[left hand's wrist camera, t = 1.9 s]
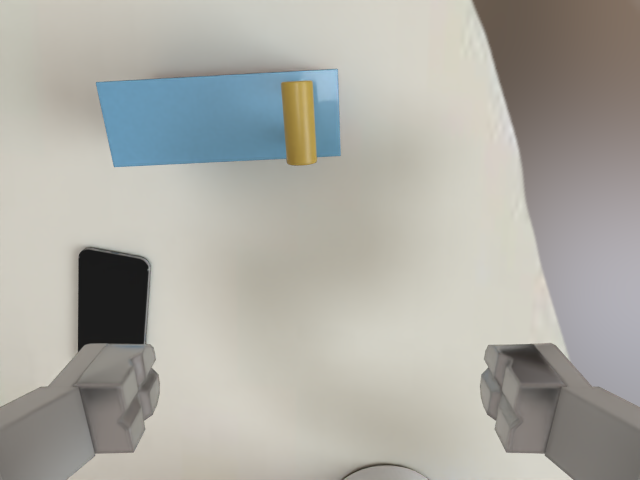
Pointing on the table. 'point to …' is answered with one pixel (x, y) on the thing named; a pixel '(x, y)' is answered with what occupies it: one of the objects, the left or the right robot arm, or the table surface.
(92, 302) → the smartphone
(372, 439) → the table surface
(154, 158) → the lid
